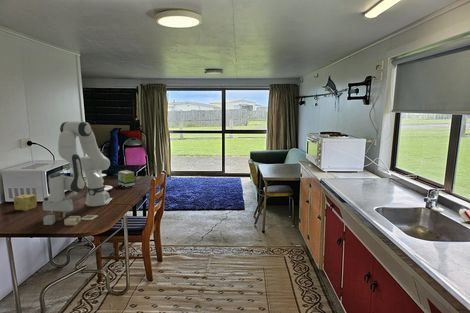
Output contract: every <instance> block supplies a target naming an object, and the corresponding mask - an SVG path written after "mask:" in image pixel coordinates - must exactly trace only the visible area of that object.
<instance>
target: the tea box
mask: <svg viewBox="0 0 470 313" xmlns="http://www.w3.org/2000/svg"><path fill="white" fill-rule="evenodd" d="M117 175H118V176H117V177H118V179H117V180H118V186H120V185H122V186H121V187H123V186H125V187H127V186H132V185H135V183H136V182H135V172H134V171H131V170H127V169H125V170H120V171H117ZM125 187H124V188H125ZM132 187H133V186H132ZM127 188H128V187H127Z"/></svg>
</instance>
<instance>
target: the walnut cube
mask: <svg viewBox="0 0 470 313" xmlns="http://www.w3.org/2000/svg"><path fill="white" fill-rule="evenodd" d="M53 215H55V221H62V220H64V219H66V216H65V217H62V215H63V211H54V213H53Z"/></svg>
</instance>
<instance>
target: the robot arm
mask: <svg viewBox="0 0 470 313" xmlns="http://www.w3.org/2000/svg"><path fill="white" fill-rule="evenodd" d="M59 131H60V133H59V136H58V142H57V143H58V144H57V146H58V148H57V149H58V150H57V151H58V155H59V157H60V158H62V159H63V160H64V161H66V162H68V163H69V165H71V170H72V176H68V175H64V174H63V173H60V172H59V173H54V174H51V175H50V176H49V178H48V188H49V195H47V196H44V197H42V201H43V202H42V210H43V211H45V212H46V211H49V212H50V213H51V215H53V213H54V212H57V211H63V215H62V217H65V218H66V214H67V212H72V211H73V210H74V203H73V199H72V198H71V197H66V193H65V191H70V192H71V191H72V192H75V193H79V192H81V191H83V189H84V188H85V187H86V182H87V183H88V184H87V185H88V187H87V188H86V191H87V192H86V200H85V202H84V204H85V205H86V206H88V207H100V206H104V205H105V206H106V205H108V204H110V203H111V202H112V201H113V200H112V199H113V197H110V193H109V192H108V191H105V189H104V188H106V186H107V185H104V182H103V180H104V177H102V176H101V175H100V174H98V170H102V171H105V170H106V171H107V170H108V169H109V167H110V166H111V161H110V159H109V158H108V157H106V156H105V155H104V154H103V153H102V151H100V148H99V145H98V144H97V140H96V136H95V133H94V131H93V129H92V126H91V125H90V123H89V122H86V121H78V120H75V121H65V122H62V123H61V124H60V128H59ZM77 137H78V140H79V144H80V147H81V150H82V152H83V153H84V154H86V155H85V156H81V157H80V155H79V154H78V150H77V140H76V139H77ZM83 173H84V175H85V177H86V180H87V181H85V178H84V175H83ZM111 200H112V201H111ZM110 201H111V202H110Z"/></svg>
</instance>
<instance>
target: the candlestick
mask: <svg viewBox="0 0 470 313" xmlns="http://www.w3.org/2000/svg"><path fill="white" fill-rule="evenodd" d="M97 172H98V174H100V175H101V176H102V178H104V177H105V176H107V174H106V173H102V172H103V170H97ZM103 183H104V179H103ZM105 186H106V188H104V189H105V191H106V192H108V191H110V190H111V189H113V186H112V185H105ZM85 187H87V188H88V183H87V181H85Z"/></svg>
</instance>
